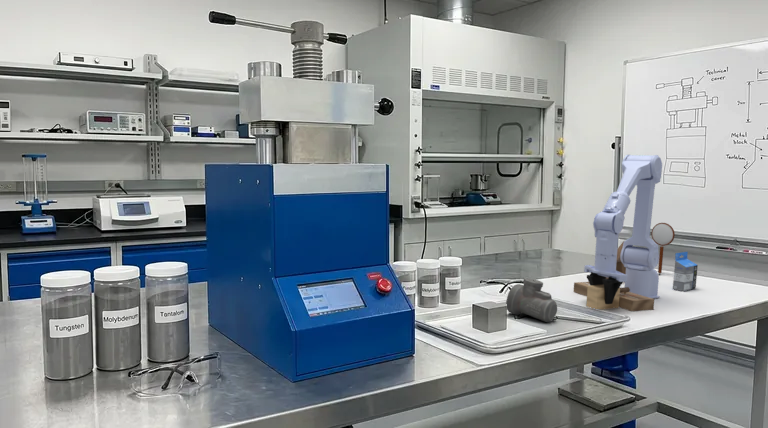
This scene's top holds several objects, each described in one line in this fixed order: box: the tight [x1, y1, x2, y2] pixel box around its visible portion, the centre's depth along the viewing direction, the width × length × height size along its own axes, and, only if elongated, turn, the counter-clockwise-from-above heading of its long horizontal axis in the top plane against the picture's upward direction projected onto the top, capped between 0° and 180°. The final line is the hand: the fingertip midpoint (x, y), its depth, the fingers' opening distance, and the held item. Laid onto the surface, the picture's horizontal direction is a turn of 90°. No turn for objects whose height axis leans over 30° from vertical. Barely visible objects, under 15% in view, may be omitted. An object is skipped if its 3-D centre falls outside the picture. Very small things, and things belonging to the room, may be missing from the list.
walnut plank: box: [573, 281, 655, 312], centre depth 169 cm, size 8×24×3 cm, turn 21°
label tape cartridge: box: [672, 251, 698, 292], centre depth 187 cm, size 9×4×12 cm, turn 128°
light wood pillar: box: [586, 285, 630, 310], centre depth 160 cm, size 13×4×6 cm, turn 111°
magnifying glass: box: [650, 222, 676, 275], centre depth 211 cm, size 9×2×20 cm, turn 35°
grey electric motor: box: [505, 277, 558, 323], centre depth 146 cm, size 12×8×10 cm
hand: (602, 301), depth 160 cm, fingers closed on light wood pillar, 4 cm apart
